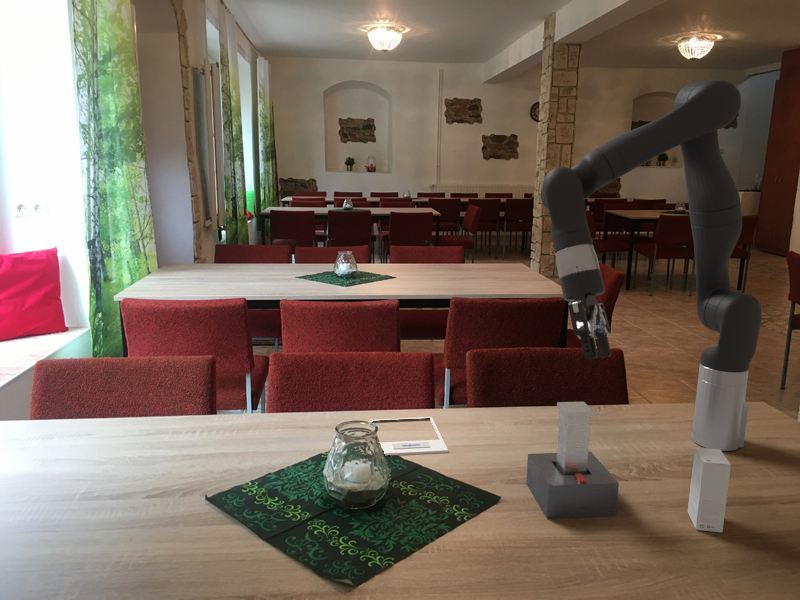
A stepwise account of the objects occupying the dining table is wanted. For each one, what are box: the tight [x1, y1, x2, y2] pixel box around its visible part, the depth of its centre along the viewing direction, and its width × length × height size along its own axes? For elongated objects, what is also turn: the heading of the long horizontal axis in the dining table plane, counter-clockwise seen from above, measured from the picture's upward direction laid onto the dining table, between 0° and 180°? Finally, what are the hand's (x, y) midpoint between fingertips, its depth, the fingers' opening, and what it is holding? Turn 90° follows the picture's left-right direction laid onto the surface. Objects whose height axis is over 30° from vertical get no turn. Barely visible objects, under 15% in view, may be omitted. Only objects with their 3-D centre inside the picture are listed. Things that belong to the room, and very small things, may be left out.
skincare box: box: [687, 446, 732, 533], centre depth 105 cm, size 6×4×12 cm
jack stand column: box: [556, 401, 595, 476], centre depth 111 cm, size 5×5×17 cm
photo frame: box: [368, 416, 449, 457], centre depth 139 cm, size 15×1×18 cm
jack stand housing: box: [525, 451, 620, 520], centre depth 112 cm, size 12×12×6 cm
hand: (598, 358), depth 117 cm, fingers open, 8 cm apart
